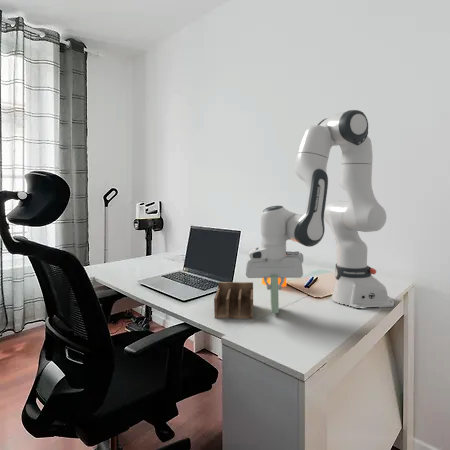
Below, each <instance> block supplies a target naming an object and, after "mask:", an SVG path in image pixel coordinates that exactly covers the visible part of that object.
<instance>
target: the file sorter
mask: <svg viewBox="0 0 450 450" xmlns="http://www.w3.org/2000/svg"><path fill="white" fill-rule="evenodd" d="M213 302H214V303H213V306H214V308H213V309H214V310H213V311H214V314H213V315H214V319H236V320H237V319H241V320H243V319H246V320H253V319H254V282H253V281H252V282H250V281H249V282H247V281H246V282H240V281H239V282H238V281H237V282H236V281H235V282H234V281H218V282H217V290H216V292H215V295H214V298H213Z"/></svg>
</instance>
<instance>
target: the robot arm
mask: <svg viewBox="0 0 450 450" xmlns="http://www.w3.org/2000/svg"><path fill="white" fill-rule="evenodd" d="M368 135H369V121H368V118H367V116H366V114H365V113H364V112H363V111H361V110H359V109H358V110H357V109H351V110H347V111H343V112H339V113H335V114H333V115H331V116H330V117H328V118H324V119H322V120H321V121H319V122H318V124H316V125H314V124H313V125H311V126H309V127H307V128H306V130H305V132H304V134H303V135H302V138H301V141H300V144H299V147H298V149H297V150H298V151H297V154H296V157H295V163H294V172H295V173H296V175H297V177H298V178H299V179H300V180H301V181H303V182H304V183H305V184H306V187H307V198H306V205H305V212H304V214H303V215H302V214H298V213H295V212H292V211H290V210H288V209H286V208H285V207H284V205H271V206H268V207H266V208H264V209H263V211H262V212H261V215H260V216H261V217H260V234H261V240H260V246H258V247H255V248H251V249H250V250H249V252H248V258H247V261H246V266H245V276H246V278H247V279H262V278H264V282H265V284H266V285H267V286H266V285H265V286H266V290H267V291H268V290H269V291H270V290H271V284H268V282H267V280H268V278H271V275H278V278H280V279H281V282H280V284H278V291H280V290H282V289H283V287H282V284H283V283H284V281H285V278H286V279H287V278H288V279H291V278H292V279H296V278H297V279H301V278H302V277H303V276H304V272H303V271H304V269H303V265H302V264H303V263H304V254H303V253H301V252H300V251H287V241H289V240H291V241H292V242H296V243H299V244H300V245H303V246H304V247H314V246H316V245H318V244H319V243H320V242H321V241H322V239H323V238H324V236H325V231H326V230H325V223H326V224H327V225H328V226H329V228H330V229H331V231H332V233H333V237H334V240H335V244H336V245H335V246H336V263H335V267H334V278H335V282H334V287H333V288H334V289H333V290H332V291H333V293H332V295H331V300H332V301H334V302H335V303H336V304H339V303H340V304H339V305H343V304H345V305H344V306H347V305H349V306H348V307H350V306H353V307H356V308H360V307H379V308H391V307H392V308H393V307H394V306H395V301H394V300H393V298H391V297H390V296H389V295H388V290H387V288H386V286H385V285H384V283H382V282H381V281H380V280H378V279H377V278H376V277H374V275H376V273H377V270H376V269H375V268H373V267H371V266H369V265H368V246H367V244H366V242H365V241H363V239H362V238H361V237H360V235H359V232H361V233H372V232H378V231H380V230H382V228H384V226H385V224H386V222H387V212H386V210H385V208H384V207H383V206H382V205H381V204H380V203H379V201H378V200H377V198H376V197H375V193H374V191H373V186H372V185H373V184H372V180H373V177H372V175H373V145H372V139H371V138H370V137H369V136H368ZM335 146H336V147H337V146H339V148H340V150H341V160H340V172H339V186H340V187H341V189H343V190H344V191H345V192H346V194H347V197H348V200H339V201H338V200H337V201H334V202H333V201H332V202H330V203H328V204H327V205H326V202H327V195H328V187H329V177H328V174H327V167H328V162H329V157H330V154H331V153H330V152H331V149H332V147H335ZM286 254H287V255H286ZM353 307H352V308H353ZM356 308H355V309H356Z"/></svg>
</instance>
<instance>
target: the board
mask: <svg viewBox="0 0 450 450" xmlns="http://www.w3.org/2000/svg"><path fill="white" fill-rule="evenodd" d="M270 284H271V290H269V291H270V309H271V314H279V313H280V312H279V311H280V309H279V308H280V307H279V305H280V304H279V303H280V302H279V290H278V275H271V278H270Z"/></svg>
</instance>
